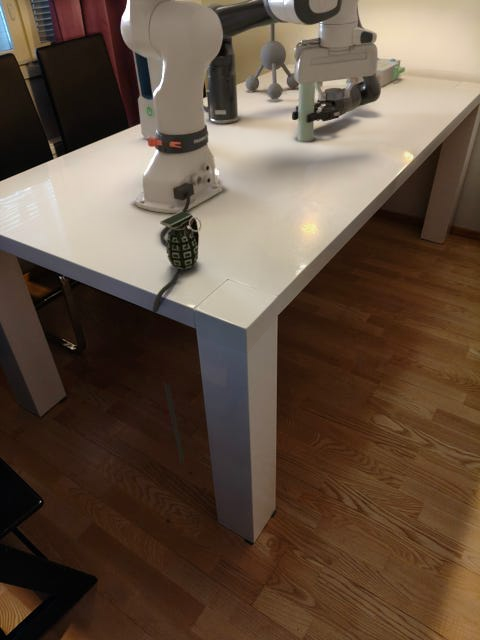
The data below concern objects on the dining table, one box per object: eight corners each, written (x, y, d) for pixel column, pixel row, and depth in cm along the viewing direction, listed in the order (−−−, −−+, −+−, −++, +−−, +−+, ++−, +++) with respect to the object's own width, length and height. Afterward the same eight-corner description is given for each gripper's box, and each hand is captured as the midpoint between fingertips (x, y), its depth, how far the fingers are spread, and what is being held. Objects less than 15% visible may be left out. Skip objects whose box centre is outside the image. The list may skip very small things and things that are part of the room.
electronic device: (141, 137, 154) (123, 28, 136) (159, 131, 158) (144, 24, 140) (166, 145, 147) (151, 30, 129) (185, 138, 151) (172, 26, 133)
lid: (330, 94, 125) (331, 86, 124) (347, 96, 122) (347, 89, 121) (320, 98, 122) (320, 91, 121) (336, 101, 120) (337, 93, 118)
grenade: (182, 278, 88) (175, 228, 82) (162, 268, 91) (153, 219, 85) (208, 263, 92) (203, 214, 85) (187, 253, 95) (181, 205, 89)
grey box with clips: (365, 55, 208) (411, 58, 198) (363, 72, 212) (408, 76, 202) (337, 67, 192) (386, 71, 182) (336, 85, 196) (383, 90, 186)
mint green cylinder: (314, 140, 144) (318, 71, 133) (300, 142, 144) (302, 73, 132) (309, 136, 148) (312, 68, 137) (295, 137, 147) (297, 70, 136)
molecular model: (318, 92, 188) (323, -1, 170) (273, 103, 179) (272, 6, 161) (281, 82, 204) (281, -3, 186) (237, 91, 195) (233, 3, 176)
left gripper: (298, 42, 110) (298, 107, 119) (383, 33, 113) (376, 97, 121) (290, 38, 115) (290, 100, 123) (372, 29, 117) (366, 91, 126)
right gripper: (316, 88, 151) (281, 100, 142) (355, 94, 143) (321, 107, 134) (315, 113, 156) (280, 126, 146) (353, 120, 148) (319, 135, 138)
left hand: (333, 98), depth 122 cm, fingers closed on lid, 5 cm apart
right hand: (300, 117), depth 140 cm, fingers closed on mint green cylinder, 4 cm apart
